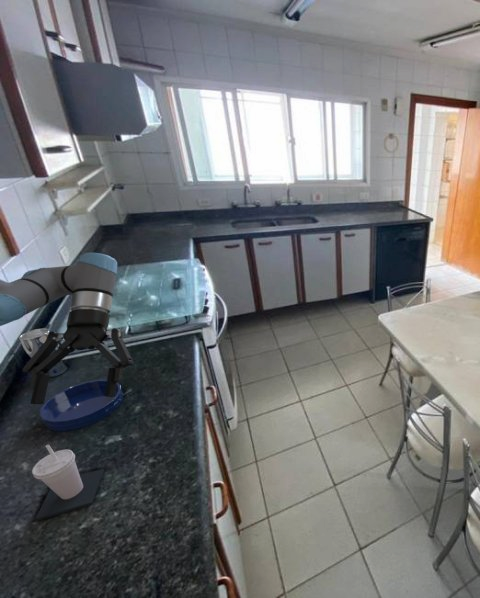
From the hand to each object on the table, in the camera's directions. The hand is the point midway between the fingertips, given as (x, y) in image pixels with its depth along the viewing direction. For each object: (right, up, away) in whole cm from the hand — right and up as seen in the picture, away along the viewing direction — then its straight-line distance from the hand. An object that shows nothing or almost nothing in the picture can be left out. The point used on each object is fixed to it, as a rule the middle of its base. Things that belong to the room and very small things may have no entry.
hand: (74, 400), depth 75 cm
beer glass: (-40, -1, +33) cm, 52 cm away
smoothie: (+2, -20, -2) cm, 20 cm away
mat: (+2, -21, -2) cm, 21 cm away
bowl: (-17, -9, +21) cm, 28 cm away
